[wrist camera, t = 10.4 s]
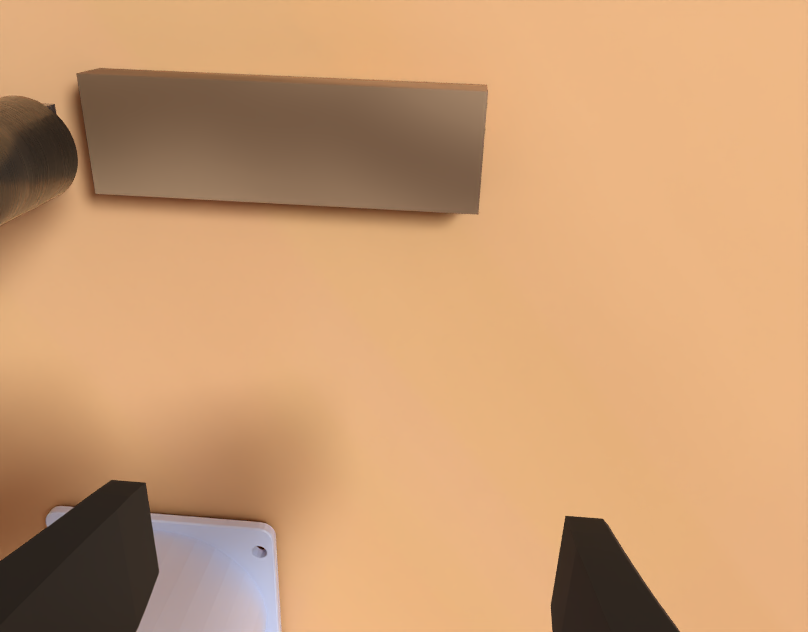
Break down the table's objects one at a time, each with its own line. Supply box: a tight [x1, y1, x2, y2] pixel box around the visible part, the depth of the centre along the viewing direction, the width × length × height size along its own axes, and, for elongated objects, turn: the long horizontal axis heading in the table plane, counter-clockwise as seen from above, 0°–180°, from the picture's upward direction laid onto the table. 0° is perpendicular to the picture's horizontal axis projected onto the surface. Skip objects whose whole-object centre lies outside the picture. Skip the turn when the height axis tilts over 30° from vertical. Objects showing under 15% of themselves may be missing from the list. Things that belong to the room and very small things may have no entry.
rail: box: [77, 68, 488, 214], centre depth 18 cm, size 3×10×1 cm, turn 88°
